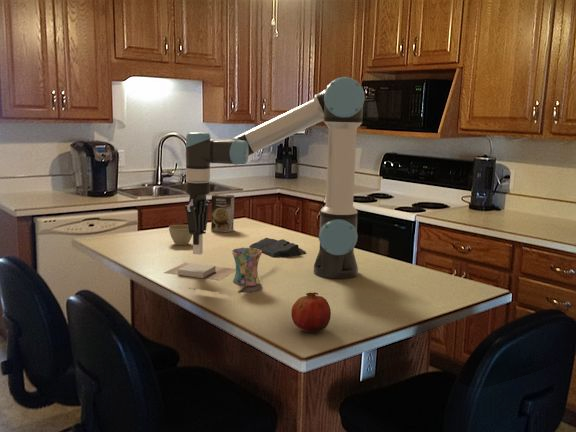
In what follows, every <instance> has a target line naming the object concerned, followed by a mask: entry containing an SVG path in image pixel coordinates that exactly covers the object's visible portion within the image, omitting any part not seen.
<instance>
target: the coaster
mask: <svg viewBox="0 0 576 432" xmlns="http://www.w3.org/2000/svg"><path fill="white" fill-rule="evenodd" d="M262 288H263V285H262V283H261V282H260V283H259V284H257V285H254V286H248V287H246V286H244V287H242V288H241V289H240V290H238V291H237V292H238V293H254V292H255V293H256V292H258V291H261V290H262Z"/></svg>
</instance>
